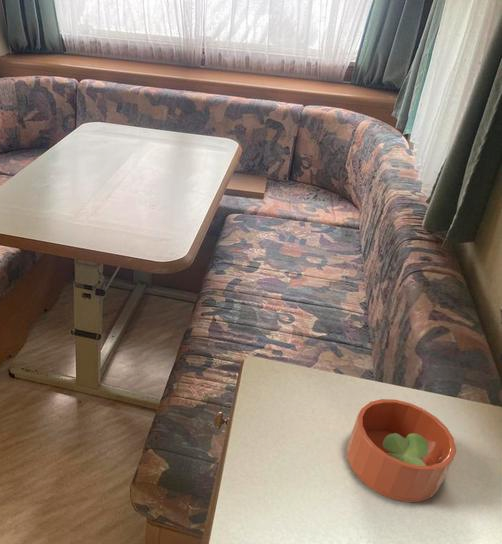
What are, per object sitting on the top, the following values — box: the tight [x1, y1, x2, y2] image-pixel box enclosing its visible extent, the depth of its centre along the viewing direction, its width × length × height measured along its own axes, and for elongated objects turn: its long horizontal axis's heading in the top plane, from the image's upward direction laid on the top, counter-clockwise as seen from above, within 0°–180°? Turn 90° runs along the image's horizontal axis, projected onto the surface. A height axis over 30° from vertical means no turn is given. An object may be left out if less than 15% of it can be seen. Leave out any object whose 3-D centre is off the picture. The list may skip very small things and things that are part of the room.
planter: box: [346, 398, 457, 503], centre depth 86 cm, size 13×13×7 cm
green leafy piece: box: [383, 433, 428, 466], centre depth 87 cm, size 7×8×6 cm
